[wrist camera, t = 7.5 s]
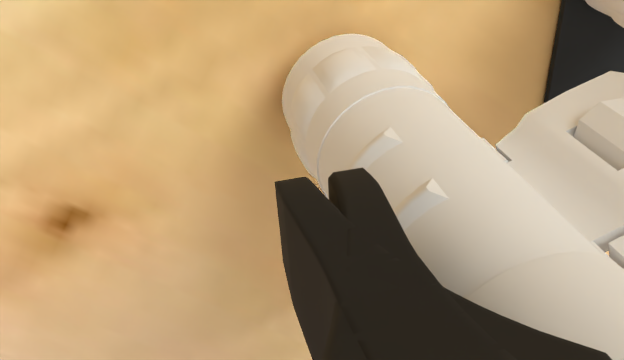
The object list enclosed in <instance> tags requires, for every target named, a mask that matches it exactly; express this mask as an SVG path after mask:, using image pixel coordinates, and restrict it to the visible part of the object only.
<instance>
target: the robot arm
mask: <svg viewBox="0 0 624 360" xmlns="http://www.w3.org/2000/svg"><path fill="white" fill-rule="evenodd" d="M275 189H276V198H277V208H278V217H279V227H280V236H281V245H282V255H283V263H284V267H285V272H286V276H287V281H288V285H289V290H290V294H291V298H292V302H293V306H294V309H295V312H296V315H297V317H298V320H299V323H300V326H301V329H302V331H303V334H304V337H305V340H306V343H307V345H308V348H309V351H310V354H311V357H312V359H313V360H612V359H611V358H610V357H609V356H608V354H607V353H605V352H602V351H599V350H596V349H593V348H590V347H587V346H584V345H581V344H578V343H575V342H572V341H569V340H566V339H563V338H560V337H557V336H554V335H551V334H547V333H544V332H542V331H539V330H536V329H534V328H531V327H529V326H526V325H524V324H521V323H519V322H517V321H514V320H512V319H509V318H507V317H504V316H502V315H500V314H497V313H495V312H493V311H491V310H488V309H486V308H484V307H482V306H480V305H478V304H476V303H474V302H472V301H470V300H468V299H466V298H464V297H462V296H460V295H458V294H456V293H454V292H452V291H450V290H448V289H446V288H445V287H443V286H442V285H441V284H440V283H439V281H438V280H437V279H436V278H435V276H434V275H433V274H432V272H431V271H430V270H429V269H428V267H427V266H426V265H425V264H424V262H423V261H422V260H421V258H420V257H419V256H418V255H417V253H416V251H415V250H414V248H413V246H412V245H411V243H410V242H409V240H408V238H407V236H406V234H405V232H404V230H403V228H402V226H401V224H400V223H399V221H398V219H397V217H396V215H395V213H394V211H393V209H392V207H391V205H390V203H389V201H388V200H387V198H386V196H385V194H384V192H383V190H382V188H381V187H380V185H379V183H378V182H377V181H376V180H375V179H374V178H373V177H372V175H371V174H369V173H368V172H367V171H366V170H365V169H364V168H363V167H362V168H356V169H350V170H344V171H338V172H333V173H332V174H331V175H330V176H329V177H328V192H329V199H328V198H327V197H326V196H325V195H324V194H323V193H322V192H321V191H320V190H319V189H318V188H317V187H316V186H315V185H314V184H313V183H312V182H311V181H310V180H309V179H308V178H306V177H301V178H295V179H289V180H283V181H277V182H275Z"/></svg>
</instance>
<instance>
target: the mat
mask: <svg viewBox="0 0 624 360" xmlns="http://www.w3.org/2000/svg"><path fill="white" fill-rule="evenodd" d="M609 71H614V72H621V73H624V28H623V27H622V26H620V25H619V24H617V23H616V22H615V21H614V20H613V19H612V18H611V17H610V16H608V15H606V14H604V13H602V12H600V11H597V10H596V9H594V8H592V7H591V6H589V5H588V4H587V2H586V1H585V0H562V2H561V7H560V13H559V19H558V24H557V30H556V36H555V41H554V47H553V53H552V58H551V64H550V70H549V75H548V81H547V87H546V92H545V98H544V103H546V102H548V101H549V100H551V99H553V98H555V97H557V96H559V95H560V94H562V93H564V92H566V91H568V90H570V89H572V88H574V87H577V86H579V85H581V84H583V83H585V82H587V81H590V80H592V79H594V78H596V77H598V76H600V75H603V74H605V73H607V72H609Z"/></svg>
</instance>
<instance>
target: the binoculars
mask: <svg viewBox="0 0 624 360" xmlns="http://www.w3.org/2000/svg"><path fill="white" fill-rule="evenodd" d="M585 1H586V2H587V4H588V5H589V6H591V7H592V8H594V9H596V10H597V11H600V12H602V13H604V14H606V15H608V16H610V17H611V18H612V19H613V20H614V21H615V22H616V23H617V24H619V25H620V26H622V27H623V28H624V0H585ZM282 106H283V114H284V116H285V119H286V122H287V124H288V126H289V128H290V130H291V139H292V142H293V145H294V148H295V150H296V153H297V155H298V157H299V159H300V160H301V162H302V163H303V165H304V166H305V168H306V169H307V171H308V172H309V174H310V175H312V176H313V177H314V178H316V180H317V182H318V184H319V186H320V188H321V190H322V191H323V193H324V194H325V196H326V197H327V198H328V199H329V192H328V177H329V176H330V175H331V174H332V173H333V172H338V171H344V170H350V169H356V168H362V167H363V168H364V169H365V170H366V171H367V172H368V173H369V174H371V175H372V177H373V178H374V179H375V180H376V181H377V182H378V183H379V185H380V187H381V188H382V190H383V192H384V194H385V196H386V198H387V200H388V201H389V203H390V205H391V207H392V209H393V211H394V213H395V215H396V217H397V219H398V221H399V223H400V224H401V226H402V228H403V230H404V232H405V234H406V236H407V238H408V240H409V242H410V243H411V245H412V246H413V248H414V250H415V251H416V253H417V255H418V256H419V257H420V258H421V260H422V261H423V262H424V264H425V265H426V266H427V267H428V269H429V270H430V271H431V272H432V274H433V275H434V276H435V278H436V279H437V280H438V281H439V283H440V284H441V285H442V286H443V287H445V288H446V289H448V290H450V291H452V292H454V293H456V294H458V295H460V296H462V297H464V298H466V299H468V300H470V301H472V302H474V303H476V304H478V305H480V306H482V307H484V308H486V309H488V310H491V311H493V312H495V313H497V314H500V315H502V316H504V317H507V318H509V319H512V320H514V321H517V322H519V323H521V324H524V325H526V326H529V327H531V328H534V329H536V330H539V331H542V332H544V333H547V334H551V335H554V336H557V337H560V338H563V339H566V340H569V341H572V342H575V343H578V344H581V345H584V346H587V347H590V348H593V349H596V350H599V351H602V352H605V353H607V354H608V356H609V357H610V358H611V359H612V360H624V73H621V72H614V71H609V72H607V73H605V74H603V75H600V76H598V77H596V78H594V79H592V80H590V81H587V82H585V83H583V84H581V85H579V86H577V87H574V88H572V89H570V90H568V91H566V92H564V93H562V94H560V95H559V96H557V97H555V98H553V99H551V100H549V101H548V102H546V103H544V104H542V105H540V106H538V107H537V108H535V109H533V110H531V111H529V112H527V113H526V114H525V115H524V116H523V118H522V119H521V121H520V122H519V124H518V125H517V127H516V128H514V129H513V130H512V131H511V132H510V133H508V134H507V135H506V136H505V137H504V138H502V139H501V140H500V141H499V142H498V143H497V144H495V145H496V149H497V150H496V149H495V148H494V147H493V146H492V145H491V144H490V143H489V142H488V141H487V140H485V139H484V138H480V137H479V136H478V135H477V134H476V133H475V132H474V131H473V130H472V129H471V128H470V127H469V126H467V125H466V124H465V123H464V122H463V121H462V120H461V119H460V118H459V117H458V116H457V115H456V114H455V113H454V112H453V111H452V110H451V109H450V107H449V106H448V105H447V103H446V102H445V101H444V100H443V99H442V98H441V97H440V96H439V95H438V94H437V93H436V92H435V91H434V89H433V86H432V85H431V84H430V83H429V82H428V81H427V80H426V79H425V78H424V77H423V76H422V75H420V74H419V73H418V72H417V70H416V68H415V67H414V66H413V65H412V64H411V63H410V62H409V61H407V60H406V59H405V58H404V57H403V56H402V55H400V54H398V53H396V52H394V51H392V50H390V49H389V48H388V47H387V46H385V45H384V44H383V43H382V42H380V41H378V40H376V39H374V38H372V37H370V36H366V35H361V34H342V35H337V36H333V37H330V38H328V39H325V40H322V41H321V42H319V43H317V44H316V45H314V46H312V47H311V48H310V49H308V50H307V51H306V52H305V53H304V54H303V55H302V56H301V57H300V58H299V59H298V60H297V62H296V63H295V64H294V66H293V67H292V69H291V71H290V73H289V75H288V76H287V78H286V82H285V85H284V89H283V96H282ZM607 251H609V256H608V255H607V254H606V253H605V252H607Z"/></svg>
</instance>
